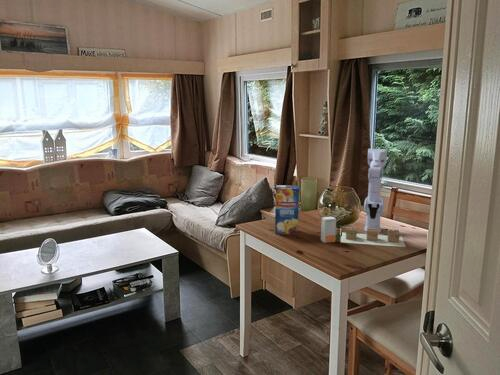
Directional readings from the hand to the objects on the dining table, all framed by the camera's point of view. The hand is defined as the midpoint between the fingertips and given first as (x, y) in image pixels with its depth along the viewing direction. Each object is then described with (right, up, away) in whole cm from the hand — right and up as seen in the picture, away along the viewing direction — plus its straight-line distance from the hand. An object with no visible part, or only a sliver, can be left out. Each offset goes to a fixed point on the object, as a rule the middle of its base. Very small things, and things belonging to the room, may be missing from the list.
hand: (372, 218), depth 215 cm
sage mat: (0, -11, 0) cm, 11 cm away
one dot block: (+9, -11, -2) cm, 14 cm away
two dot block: (-10, -10, +2) cm, 14 cm away
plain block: (0, -10, 0) cm, 10 cm away
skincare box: (-23, -11, -2) cm, 25 cm away
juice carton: (-41, -8, +13) cm, 44 cm away
